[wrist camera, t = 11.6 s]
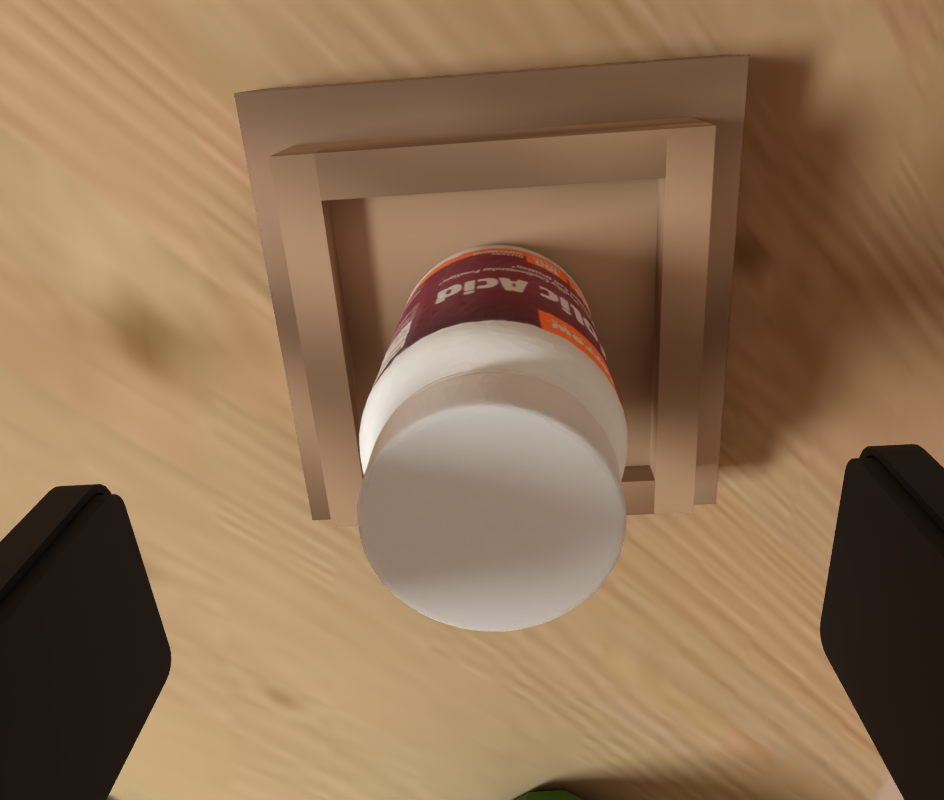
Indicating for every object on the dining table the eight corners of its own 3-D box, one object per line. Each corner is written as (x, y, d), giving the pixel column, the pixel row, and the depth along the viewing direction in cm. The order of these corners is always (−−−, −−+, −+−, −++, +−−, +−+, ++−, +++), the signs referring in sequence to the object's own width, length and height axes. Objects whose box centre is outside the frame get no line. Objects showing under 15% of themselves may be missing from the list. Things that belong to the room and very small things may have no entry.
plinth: (258, 89, 20) (199, 98, 16) (725, 54, 19) (782, 55, 15) (326, 485, 25) (293, 566, 21) (699, 469, 24) (738, 550, 20)
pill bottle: (621, 272, 18) (709, 433, 10) (555, 443, 20) (588, 683, 12) (427, 214, 18) (372, 336, 10) (379, 393, 20) (301, 611, 12)
